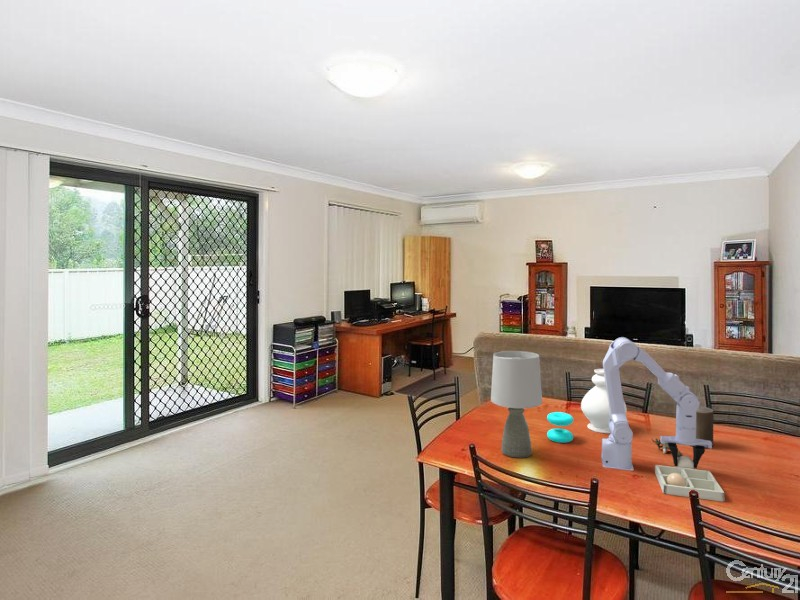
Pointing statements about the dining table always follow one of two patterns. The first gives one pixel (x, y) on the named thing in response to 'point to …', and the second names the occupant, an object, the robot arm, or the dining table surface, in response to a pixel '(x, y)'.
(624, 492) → the dining table surface
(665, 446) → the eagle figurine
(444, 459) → the dining table surface
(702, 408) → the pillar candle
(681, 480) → the brown egg
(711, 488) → the egg tray
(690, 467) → the cream egg
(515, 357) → the lamp
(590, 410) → the decorative vase
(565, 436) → the donuts
